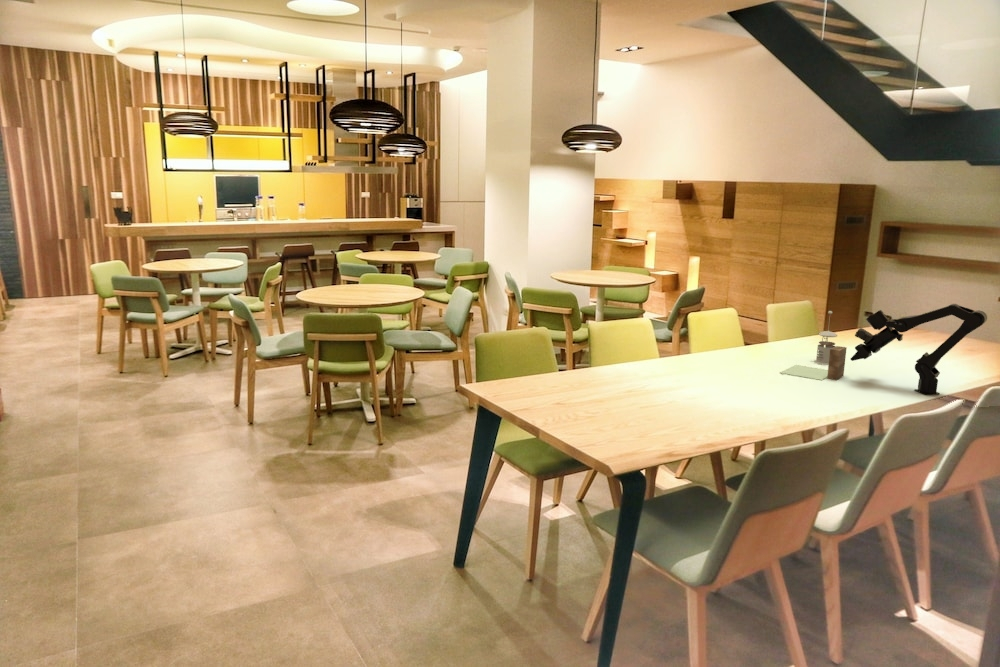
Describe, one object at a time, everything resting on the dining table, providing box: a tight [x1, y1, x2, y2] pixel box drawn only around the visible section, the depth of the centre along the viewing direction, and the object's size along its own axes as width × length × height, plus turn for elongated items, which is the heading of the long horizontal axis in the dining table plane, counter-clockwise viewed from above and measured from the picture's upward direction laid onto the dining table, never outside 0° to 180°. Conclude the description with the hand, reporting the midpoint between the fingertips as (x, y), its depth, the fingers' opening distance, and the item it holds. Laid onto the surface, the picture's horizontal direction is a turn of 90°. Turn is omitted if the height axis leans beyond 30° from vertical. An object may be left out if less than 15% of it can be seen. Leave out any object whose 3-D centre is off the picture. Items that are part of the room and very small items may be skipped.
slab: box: [826, 345, 848, 381], centre depth 302 cm, size 4×9×13 cm, turn 138°
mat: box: [779, 364, 828, 381], centre depth 311 cm, size 18×20×1 cm
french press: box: [813, 310, 838, 366], centre depth 328 cm, size 10×12×25 cm
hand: (851, 359), depth 298 cm, fingers closed
